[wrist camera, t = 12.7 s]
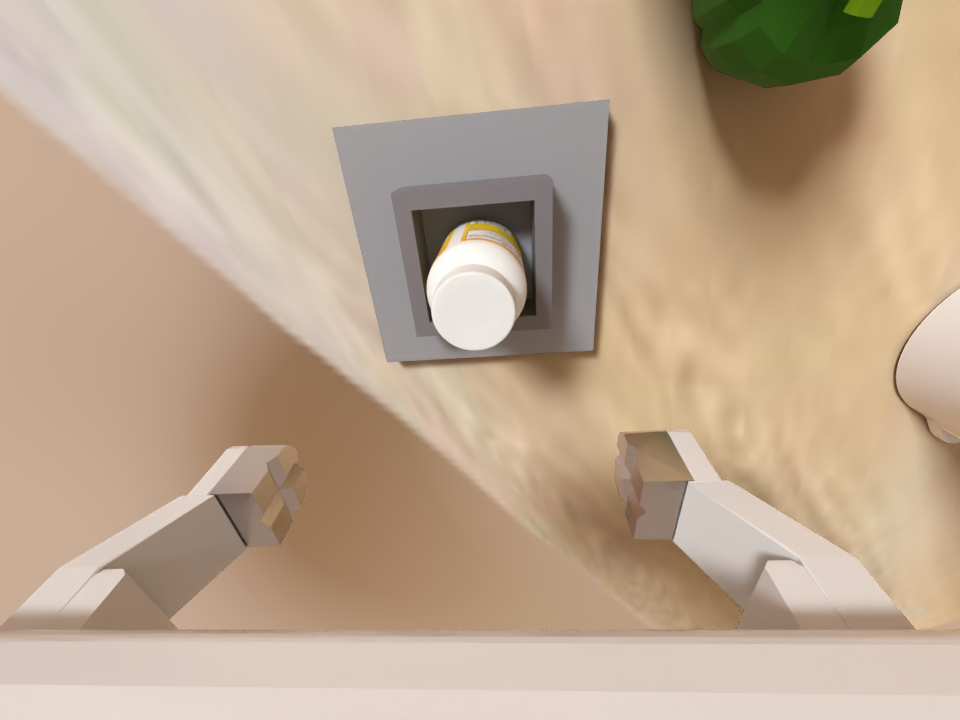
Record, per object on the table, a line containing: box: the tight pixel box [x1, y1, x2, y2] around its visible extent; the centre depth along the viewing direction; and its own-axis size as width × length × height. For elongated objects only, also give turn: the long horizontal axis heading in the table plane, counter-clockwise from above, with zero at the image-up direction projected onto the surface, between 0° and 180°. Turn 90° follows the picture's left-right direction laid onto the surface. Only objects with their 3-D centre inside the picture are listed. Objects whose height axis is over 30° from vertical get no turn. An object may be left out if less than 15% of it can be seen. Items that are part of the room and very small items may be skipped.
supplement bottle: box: [427, 217, 527, 351], centre depth 22 cm, size 5×5×10 cm
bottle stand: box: [332, 99, 610, 362], centre depth 26 cm, size 16×16×4 cm
